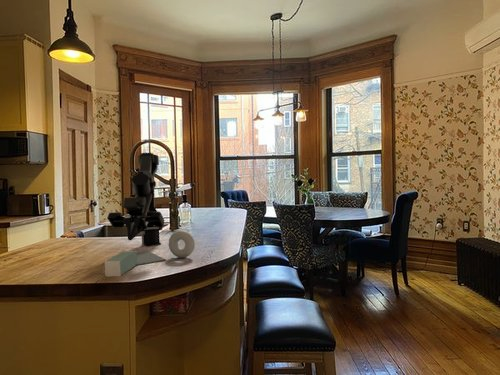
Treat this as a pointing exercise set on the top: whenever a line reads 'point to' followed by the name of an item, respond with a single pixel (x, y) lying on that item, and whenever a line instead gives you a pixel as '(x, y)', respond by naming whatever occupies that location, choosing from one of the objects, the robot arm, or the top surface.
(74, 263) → the top surface
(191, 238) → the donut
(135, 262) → the block
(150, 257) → the mat
